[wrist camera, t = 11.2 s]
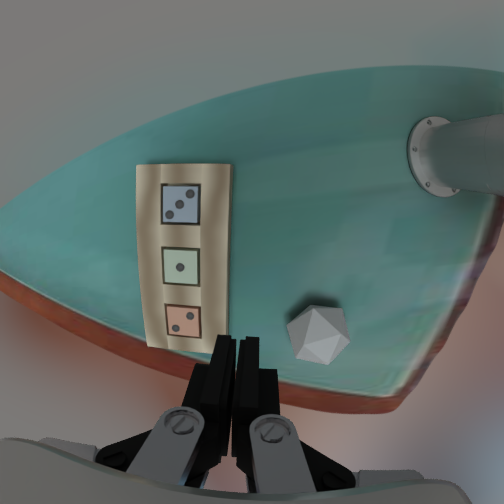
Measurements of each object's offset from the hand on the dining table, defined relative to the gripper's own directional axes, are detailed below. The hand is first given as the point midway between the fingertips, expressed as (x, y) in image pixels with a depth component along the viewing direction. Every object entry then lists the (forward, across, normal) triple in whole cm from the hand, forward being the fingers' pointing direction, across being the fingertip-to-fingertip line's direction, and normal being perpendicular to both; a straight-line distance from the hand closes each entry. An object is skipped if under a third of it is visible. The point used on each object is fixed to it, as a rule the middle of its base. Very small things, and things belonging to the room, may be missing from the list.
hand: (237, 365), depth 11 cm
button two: (+27, +9, +12) cm, 31 cm away
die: (+29, -10, +13) cm, 33 cm away
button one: (+28, +9, +4) cm, 29 cm away
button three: (+28, +9, -4) cm, 29 cm away
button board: (+29, +9, +4) cm, 30 cm away
